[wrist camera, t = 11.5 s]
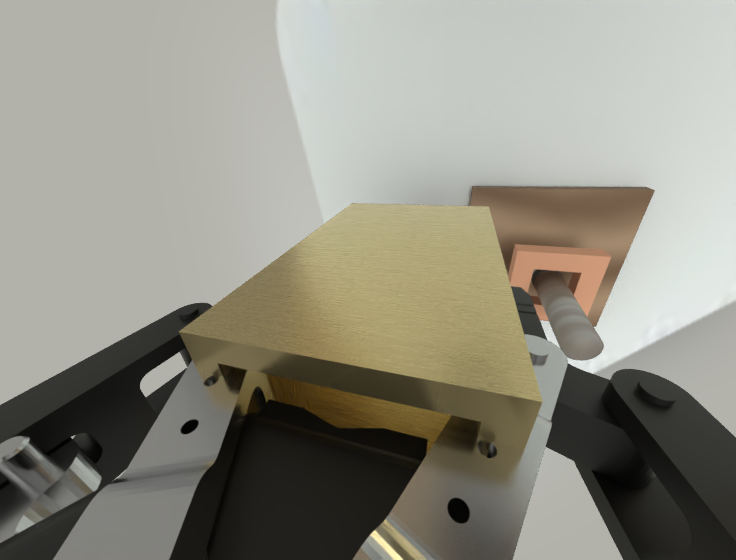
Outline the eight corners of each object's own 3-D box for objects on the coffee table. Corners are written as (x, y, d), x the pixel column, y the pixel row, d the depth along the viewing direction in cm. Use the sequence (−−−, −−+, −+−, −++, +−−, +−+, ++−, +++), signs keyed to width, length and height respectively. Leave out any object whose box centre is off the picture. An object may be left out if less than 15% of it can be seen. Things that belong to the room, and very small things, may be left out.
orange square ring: (514, 244, 24) (517, 251, 23) (603, 249, 22) (611, 257, 21) (501, 305, 27) (503, 315, 26) (578, 314, 25) (583, 324, 24)
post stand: (472, 186, 28) (478, 233, 16) (646, 187, 24) (821, 250, 12) (457, 304, 34) (453, 398, 23) (591, 320, 31) (669, 442, 19)
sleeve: (352, 203, 12) (179, 331, 5) (488, 206, 11) (542, 402, 3) (360, 308, 15) (256, 494, 8) (470, 322, 14) (476, 574, 6)
